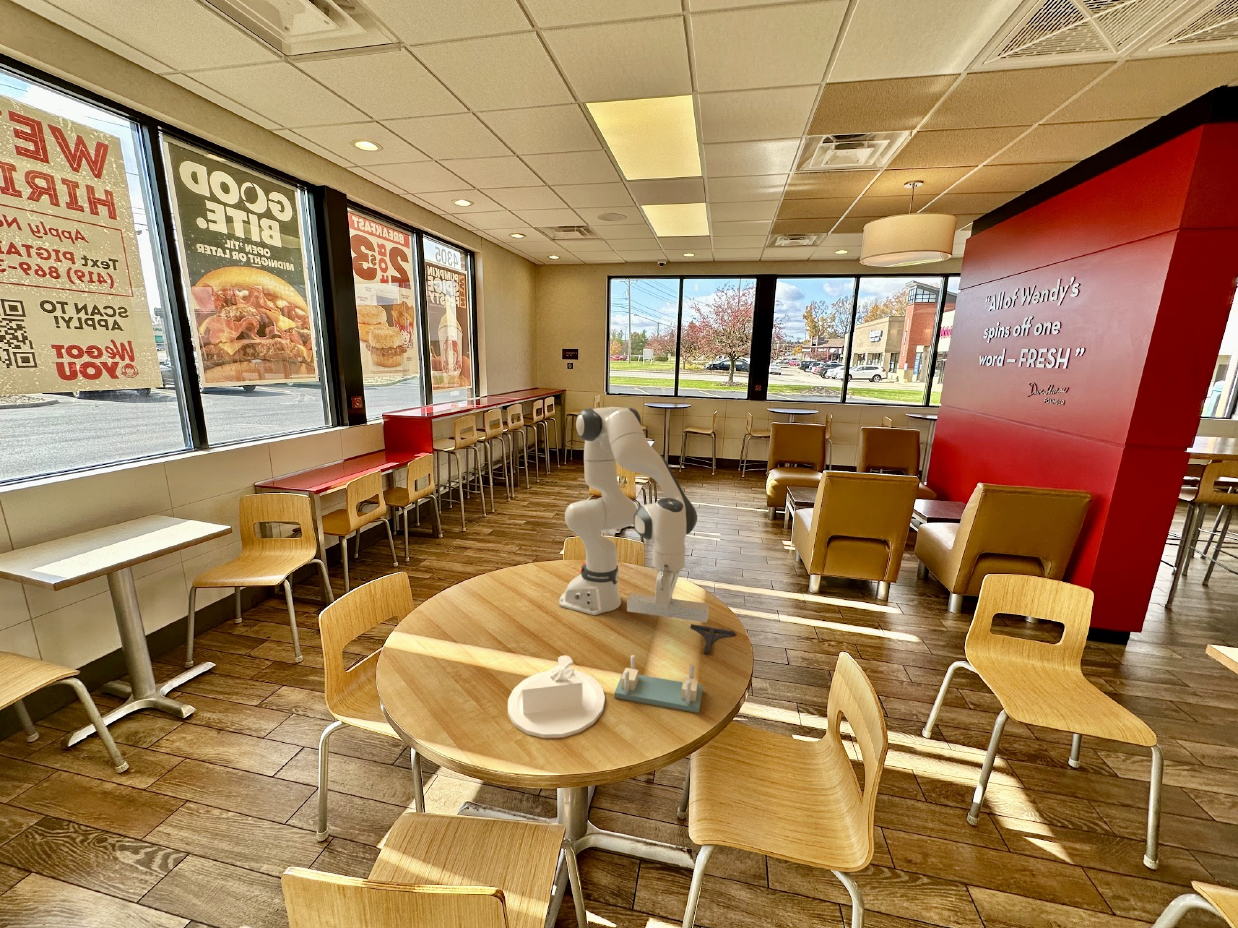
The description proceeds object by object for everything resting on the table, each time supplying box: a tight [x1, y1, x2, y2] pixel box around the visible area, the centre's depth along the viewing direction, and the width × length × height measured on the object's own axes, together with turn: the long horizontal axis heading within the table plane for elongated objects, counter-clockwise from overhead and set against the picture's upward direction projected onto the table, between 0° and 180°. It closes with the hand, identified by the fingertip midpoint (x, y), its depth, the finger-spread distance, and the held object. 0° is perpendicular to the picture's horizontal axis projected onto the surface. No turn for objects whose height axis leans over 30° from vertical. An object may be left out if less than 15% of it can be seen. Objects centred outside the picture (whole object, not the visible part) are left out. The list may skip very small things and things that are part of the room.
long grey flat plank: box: [626, 593, 710, 623], centre depth 137 cm, size 22×4×4 cm, turn 75°
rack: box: [614, 654, 704, 714], centre depth 130 cm, size 22×9×8 cm, turn 75°
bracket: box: [689, 623, 736, 655], centre depth 156 cm, size 14×15×3 cm
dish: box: [507, 655, 606, 739], centre depth 127 cm, size 25×25×11 cm
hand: (666, 605), depth 136 cm, fingers closed on long grey flat plank, 4 cm apart
